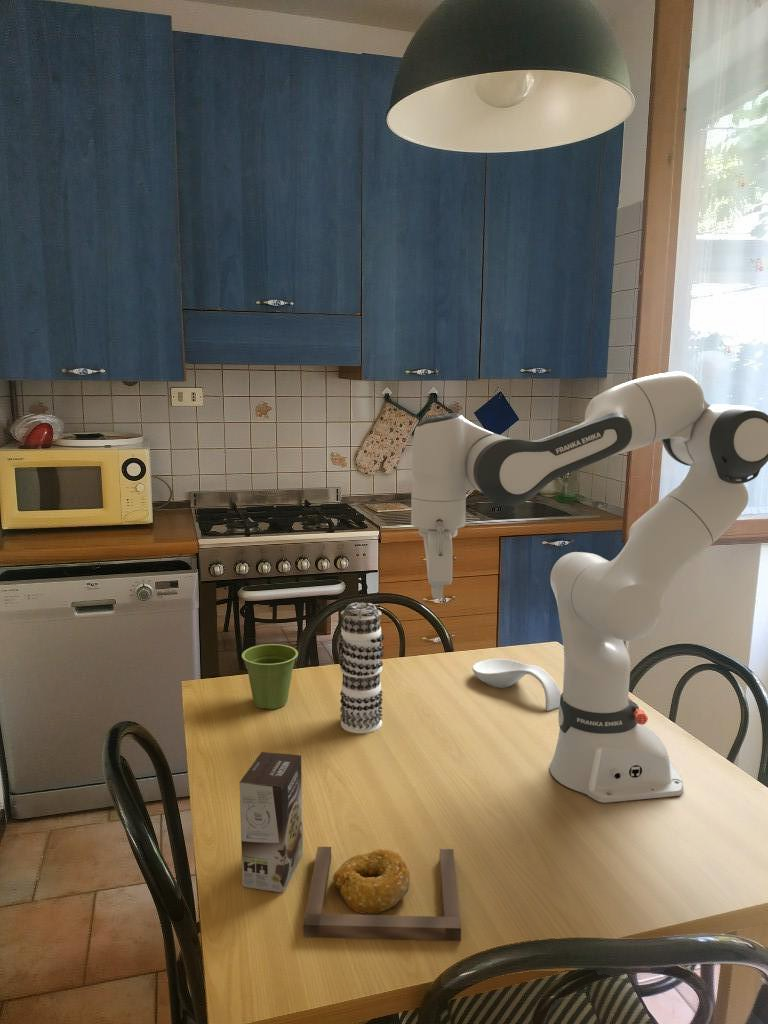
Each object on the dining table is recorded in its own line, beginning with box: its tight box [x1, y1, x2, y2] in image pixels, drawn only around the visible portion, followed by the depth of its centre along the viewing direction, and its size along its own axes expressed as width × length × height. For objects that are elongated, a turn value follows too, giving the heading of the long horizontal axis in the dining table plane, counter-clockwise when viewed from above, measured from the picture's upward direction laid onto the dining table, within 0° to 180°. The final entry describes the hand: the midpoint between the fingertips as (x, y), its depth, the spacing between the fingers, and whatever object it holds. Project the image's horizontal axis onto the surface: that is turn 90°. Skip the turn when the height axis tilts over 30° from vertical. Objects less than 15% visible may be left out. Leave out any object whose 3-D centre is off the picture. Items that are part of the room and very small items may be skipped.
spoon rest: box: [471, 658, 562, 712], centre depth 171 cm, size 24×12×7 cm, turn 36°
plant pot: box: [241, 643, 299, 710], centre depth 163 cm, size 12×12×11 cm
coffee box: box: [239, 751, 304, 894], centre depth 109 cm, size 9×6×16 cm
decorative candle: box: [337, 601, 385, 734], centre depth 153 cm, size 9×9×25 cm
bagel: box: [332, 848, 411, 914], centre depth 106 cm, size 10×11×5 cm
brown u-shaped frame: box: [302, 846, 462, 941], centre depth 105 cm, size 20×16×2 cm
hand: (437, 596), depth 127 cm, fingers closed
